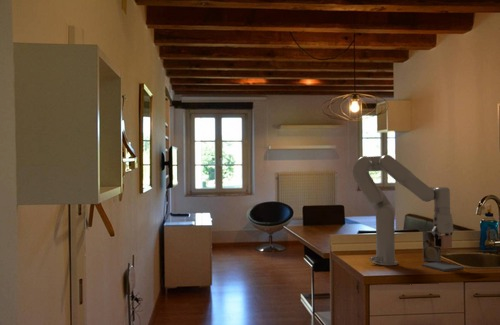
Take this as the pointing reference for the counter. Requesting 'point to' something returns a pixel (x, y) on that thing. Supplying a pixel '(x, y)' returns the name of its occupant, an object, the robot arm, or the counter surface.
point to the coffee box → (430, 248)
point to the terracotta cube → (445, 241)
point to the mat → (442, 266)
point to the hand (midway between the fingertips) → (442, 245)
